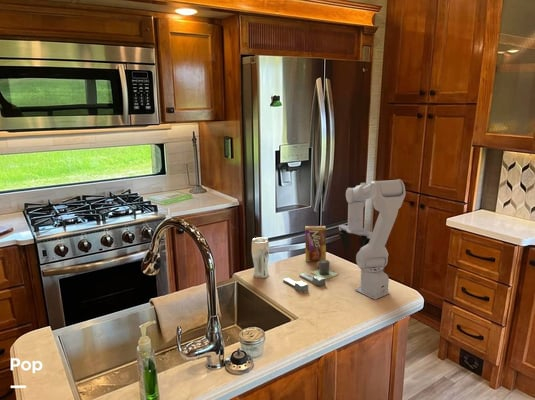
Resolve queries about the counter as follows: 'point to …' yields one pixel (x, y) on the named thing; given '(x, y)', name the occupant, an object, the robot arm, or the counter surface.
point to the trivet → (331, 274)
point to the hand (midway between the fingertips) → (354, 251)
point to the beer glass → (260, 257)
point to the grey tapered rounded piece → (323, 267)
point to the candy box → (315, 243)
